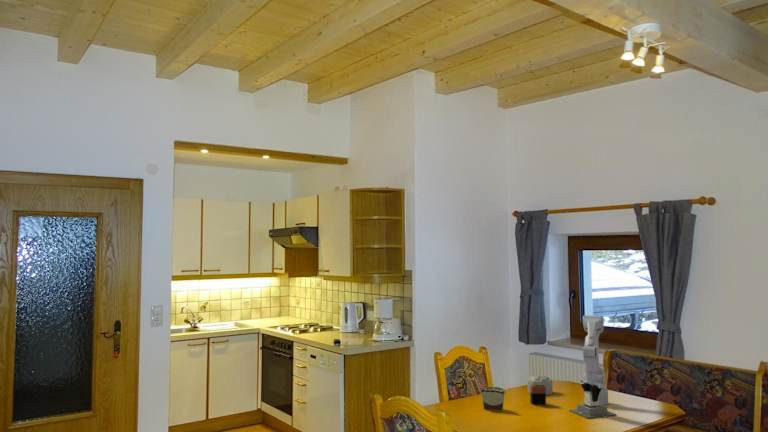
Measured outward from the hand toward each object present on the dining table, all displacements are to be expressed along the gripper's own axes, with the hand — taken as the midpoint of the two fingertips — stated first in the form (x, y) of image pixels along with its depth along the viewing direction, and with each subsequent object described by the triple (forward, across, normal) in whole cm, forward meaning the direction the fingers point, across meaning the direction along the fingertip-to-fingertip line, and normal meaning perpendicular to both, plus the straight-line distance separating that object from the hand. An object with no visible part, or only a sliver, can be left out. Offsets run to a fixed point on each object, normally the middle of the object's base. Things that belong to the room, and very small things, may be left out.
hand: (591, 400), depth 276 cm
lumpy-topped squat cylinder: (+6, -44, +1) cm, 44 cm away
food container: (+6, -24, -39) cm, 46 cm away
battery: (+6, -24, -14) cm, 28 cm away
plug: (+2, 0, 0) cm, 2 cm away
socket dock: (+6, 0, 0) cm, 6 cm away
